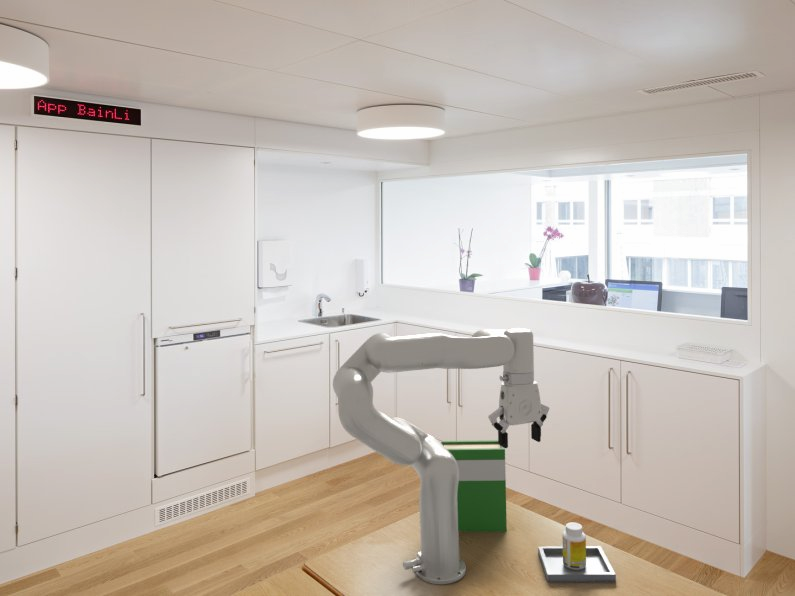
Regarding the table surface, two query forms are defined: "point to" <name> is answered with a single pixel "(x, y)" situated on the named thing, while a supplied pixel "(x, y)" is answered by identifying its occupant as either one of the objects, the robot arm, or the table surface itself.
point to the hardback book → (480, 485)
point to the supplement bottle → (574, 546)
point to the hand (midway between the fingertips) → (519, 443)
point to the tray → (593, 571)
